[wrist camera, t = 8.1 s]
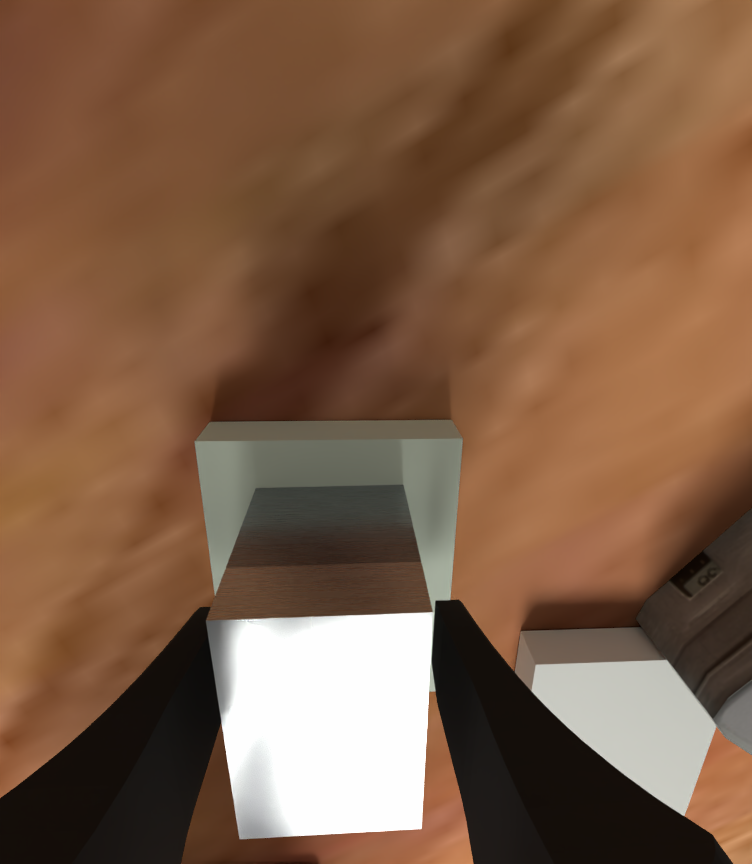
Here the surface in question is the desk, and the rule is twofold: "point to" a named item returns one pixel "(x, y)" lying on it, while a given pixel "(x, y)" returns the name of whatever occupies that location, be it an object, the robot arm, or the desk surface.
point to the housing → (324, 662)
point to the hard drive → (711, 629)
